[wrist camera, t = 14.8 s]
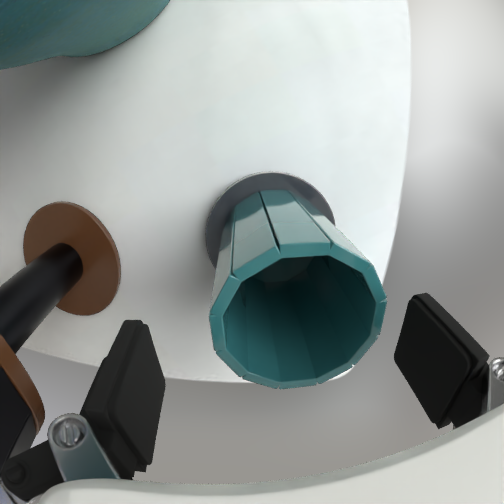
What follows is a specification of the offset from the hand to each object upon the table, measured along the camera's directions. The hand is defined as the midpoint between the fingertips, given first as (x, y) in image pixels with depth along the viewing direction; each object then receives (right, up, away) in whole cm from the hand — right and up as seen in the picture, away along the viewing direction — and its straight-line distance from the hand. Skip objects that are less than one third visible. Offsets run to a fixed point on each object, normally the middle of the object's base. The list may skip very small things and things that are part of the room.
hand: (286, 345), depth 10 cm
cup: (0, +4, +10) cm, 11 cm away
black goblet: (-16, +2, +11) cm, 20 cm away
